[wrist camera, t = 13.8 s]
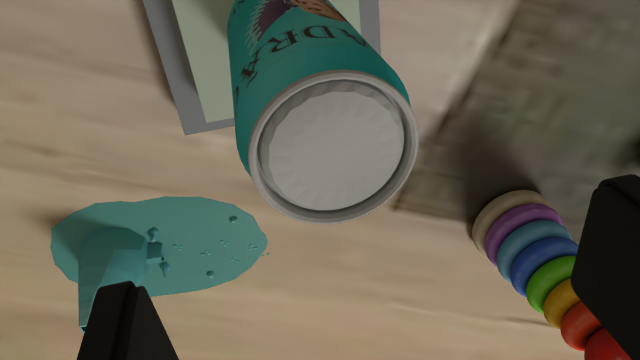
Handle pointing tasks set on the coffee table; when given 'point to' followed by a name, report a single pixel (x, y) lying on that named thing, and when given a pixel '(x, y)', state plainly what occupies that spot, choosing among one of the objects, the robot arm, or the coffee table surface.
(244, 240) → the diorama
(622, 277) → the robot arm
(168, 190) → the coffee table surface
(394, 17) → the coffee table surface
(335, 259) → the coffee table surface
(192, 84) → the stepped block
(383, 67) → the beverage can
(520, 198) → the stacking toy
